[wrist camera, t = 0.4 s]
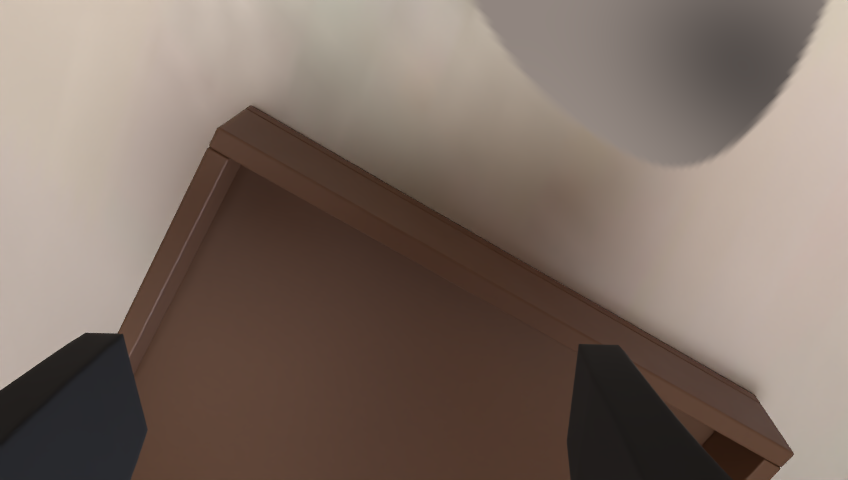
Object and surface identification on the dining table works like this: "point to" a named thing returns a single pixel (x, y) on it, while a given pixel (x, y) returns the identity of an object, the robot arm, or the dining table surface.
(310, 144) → the tray
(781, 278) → the dining table surface
